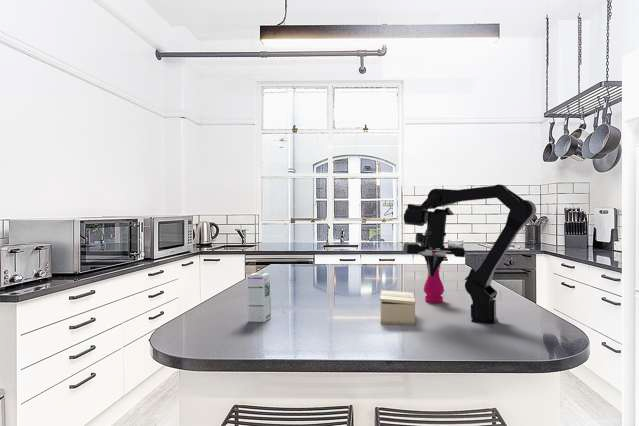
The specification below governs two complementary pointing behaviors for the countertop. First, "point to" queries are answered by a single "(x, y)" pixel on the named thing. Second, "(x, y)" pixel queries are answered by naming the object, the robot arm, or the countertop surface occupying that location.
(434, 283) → the pepper mill
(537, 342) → the countertop surface
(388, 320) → the carton
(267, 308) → the syrup box
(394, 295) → the lid
